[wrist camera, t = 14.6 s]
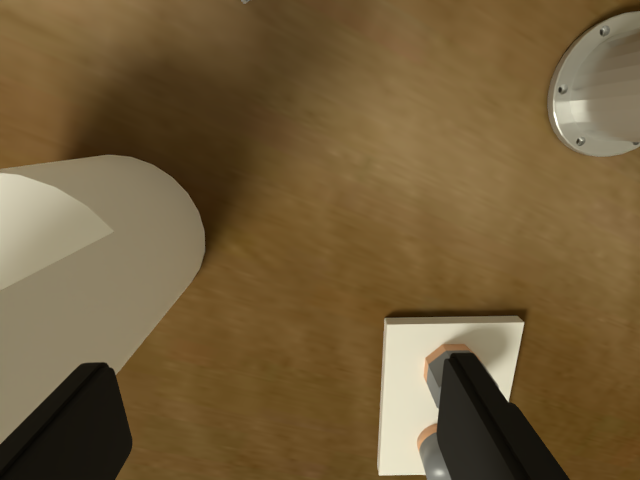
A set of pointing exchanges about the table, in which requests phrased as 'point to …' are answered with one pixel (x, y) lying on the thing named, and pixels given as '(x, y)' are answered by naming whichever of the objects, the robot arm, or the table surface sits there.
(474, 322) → the pin board
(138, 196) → the cylinder
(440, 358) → the sleeve
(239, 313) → the table surface
